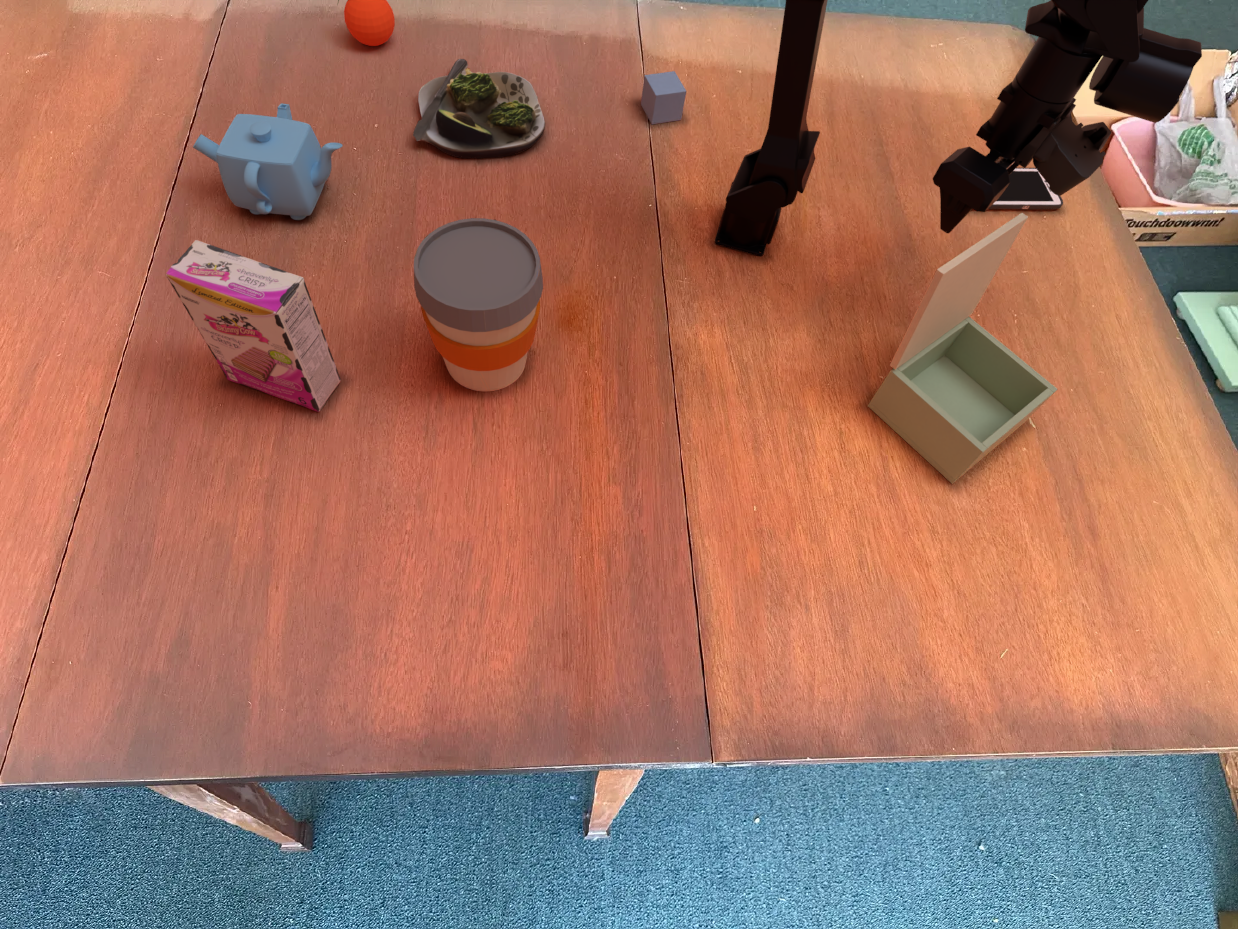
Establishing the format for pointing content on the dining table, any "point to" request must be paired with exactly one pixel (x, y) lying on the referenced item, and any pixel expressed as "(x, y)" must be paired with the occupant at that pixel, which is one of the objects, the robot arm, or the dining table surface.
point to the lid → (957, 290)
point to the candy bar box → (257, 324)
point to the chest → (960, 398)
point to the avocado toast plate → (479, 113)
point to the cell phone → (1027, 192)
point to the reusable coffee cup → (480, 299)
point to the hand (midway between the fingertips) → (965, 211)
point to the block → (663, 97)
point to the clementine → (369, 20)
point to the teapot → (271, 163)
